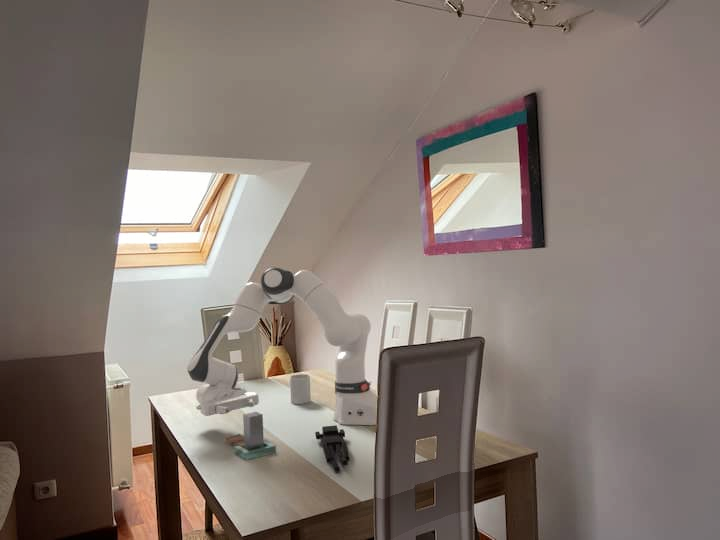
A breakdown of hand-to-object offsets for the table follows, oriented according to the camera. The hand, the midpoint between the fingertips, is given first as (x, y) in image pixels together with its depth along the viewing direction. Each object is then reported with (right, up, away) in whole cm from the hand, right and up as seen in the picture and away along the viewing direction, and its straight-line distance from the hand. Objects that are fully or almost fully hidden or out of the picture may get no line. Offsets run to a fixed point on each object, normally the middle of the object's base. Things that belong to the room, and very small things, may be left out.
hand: (239, 407), depth 184 cm
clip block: (+7, -11, -11) cm, 17 cm away
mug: (+15, -10, +51) cm, 54 cm away
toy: (+33, -11, -16) cm, 38 cm away
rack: (+4, -11, -7) cm, 14 cm away
